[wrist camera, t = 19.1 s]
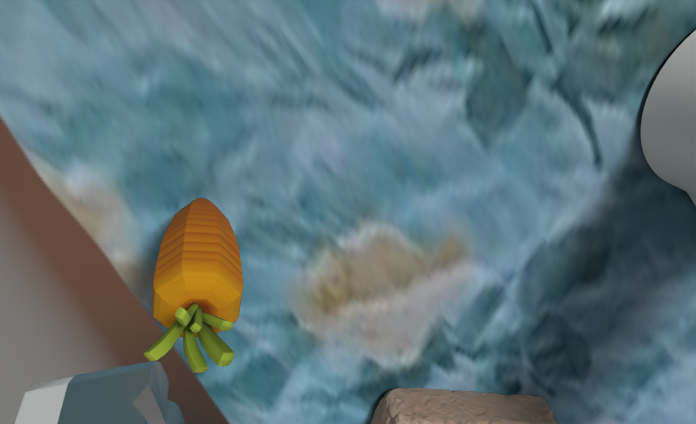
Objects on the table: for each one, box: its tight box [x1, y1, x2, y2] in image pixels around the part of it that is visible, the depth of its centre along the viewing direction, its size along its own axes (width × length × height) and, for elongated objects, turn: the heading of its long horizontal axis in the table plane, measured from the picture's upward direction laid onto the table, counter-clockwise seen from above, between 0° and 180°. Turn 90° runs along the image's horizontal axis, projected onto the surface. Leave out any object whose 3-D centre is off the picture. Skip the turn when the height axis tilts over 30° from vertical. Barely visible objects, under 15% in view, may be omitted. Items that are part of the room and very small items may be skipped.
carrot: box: [144, 198, 243, 373], centre depth 36 cm, size 5×5×15 cm
